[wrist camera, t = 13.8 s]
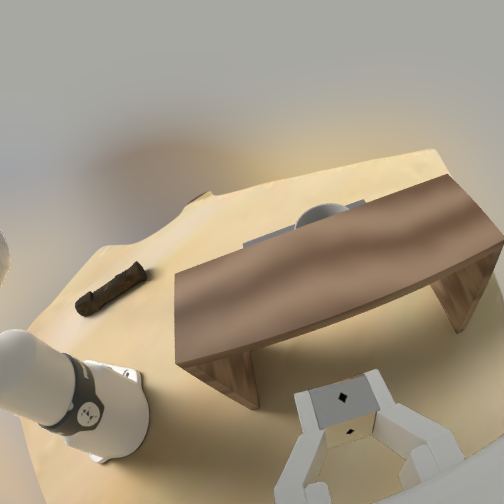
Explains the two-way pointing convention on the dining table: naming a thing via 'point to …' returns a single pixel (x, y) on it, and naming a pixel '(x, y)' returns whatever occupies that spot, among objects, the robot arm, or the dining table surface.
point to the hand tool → (110, 290)
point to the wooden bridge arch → (331, 278)
